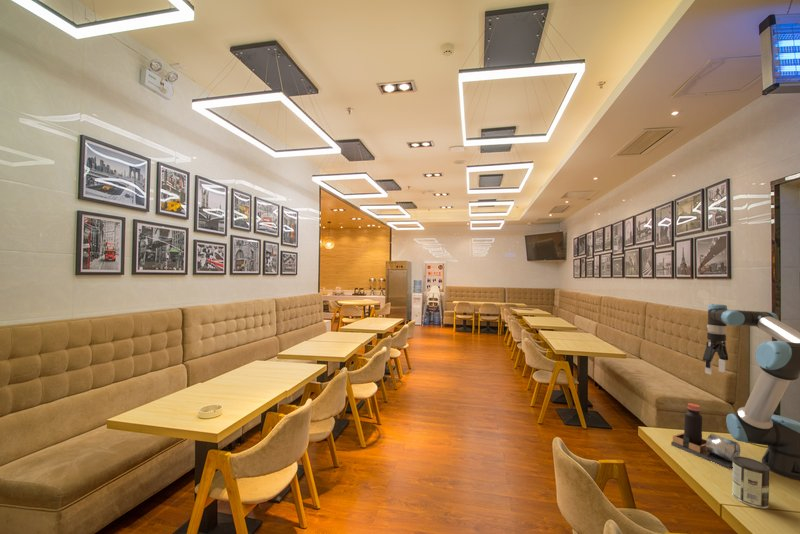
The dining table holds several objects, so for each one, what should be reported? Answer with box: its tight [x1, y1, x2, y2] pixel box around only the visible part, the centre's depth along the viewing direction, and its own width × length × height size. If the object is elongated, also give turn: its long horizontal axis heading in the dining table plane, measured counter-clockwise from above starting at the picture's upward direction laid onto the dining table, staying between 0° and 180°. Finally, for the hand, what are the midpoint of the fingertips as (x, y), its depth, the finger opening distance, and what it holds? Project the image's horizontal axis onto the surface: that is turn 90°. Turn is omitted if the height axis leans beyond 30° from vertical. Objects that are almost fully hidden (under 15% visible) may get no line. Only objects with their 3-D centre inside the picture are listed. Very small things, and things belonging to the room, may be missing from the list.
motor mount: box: [670, 432, 741, 469], centre depth 170 cm, size 23×13×10 cm, turn 25°
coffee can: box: [731, 456, 771, 510], centre depth 135 cm, size 10×10×14 cm
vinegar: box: [683, 402, 703, 446], centre depth 175 cm, size 7×7×20 cm
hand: (715, 372), depth 188 cm, fingers open, 13 cm apart
